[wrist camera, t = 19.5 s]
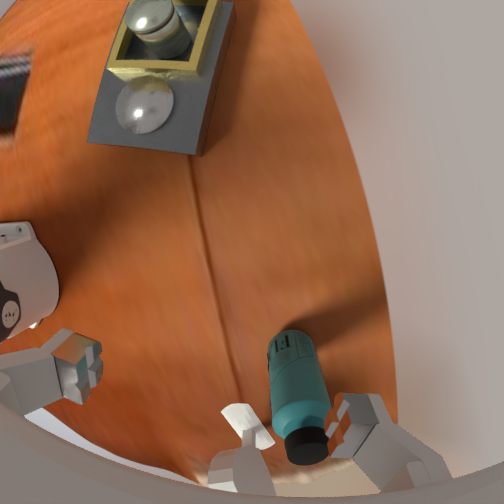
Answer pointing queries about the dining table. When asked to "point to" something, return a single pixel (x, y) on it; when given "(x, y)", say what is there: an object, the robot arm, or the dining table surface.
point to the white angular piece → (243, 456)
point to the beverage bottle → (298, 397)
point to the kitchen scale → (163, 84)
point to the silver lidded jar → (158, 27)
